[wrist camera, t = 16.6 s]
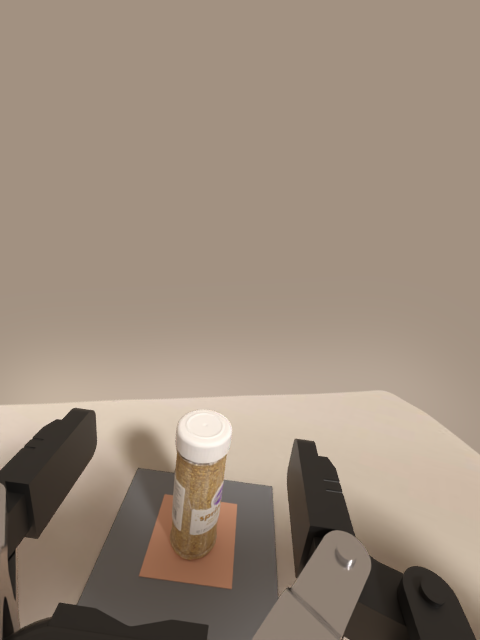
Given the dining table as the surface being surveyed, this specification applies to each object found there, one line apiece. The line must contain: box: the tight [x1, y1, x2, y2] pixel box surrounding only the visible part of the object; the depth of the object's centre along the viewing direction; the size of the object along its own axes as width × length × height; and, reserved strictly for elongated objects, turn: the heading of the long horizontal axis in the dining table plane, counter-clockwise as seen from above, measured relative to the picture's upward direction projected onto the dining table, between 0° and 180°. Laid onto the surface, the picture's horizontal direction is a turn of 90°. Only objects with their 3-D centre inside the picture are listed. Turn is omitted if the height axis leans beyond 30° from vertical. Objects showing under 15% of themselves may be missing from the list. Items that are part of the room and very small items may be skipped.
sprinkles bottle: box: [170, 410, 232, 560], centre depth 28 cm, size 5×5×13 cm
